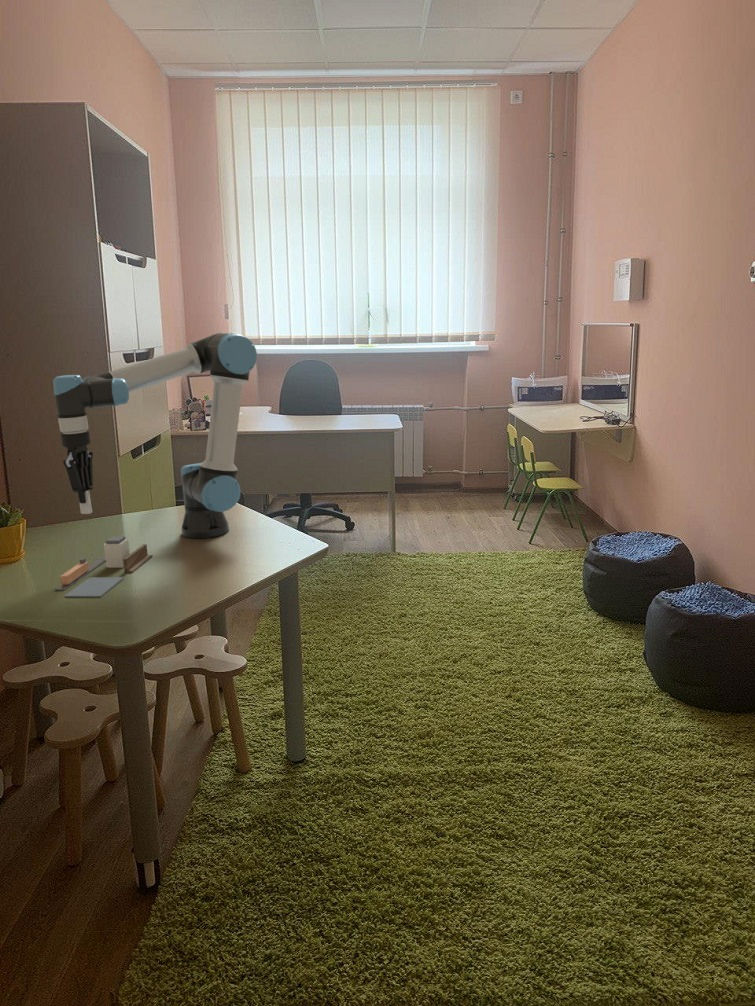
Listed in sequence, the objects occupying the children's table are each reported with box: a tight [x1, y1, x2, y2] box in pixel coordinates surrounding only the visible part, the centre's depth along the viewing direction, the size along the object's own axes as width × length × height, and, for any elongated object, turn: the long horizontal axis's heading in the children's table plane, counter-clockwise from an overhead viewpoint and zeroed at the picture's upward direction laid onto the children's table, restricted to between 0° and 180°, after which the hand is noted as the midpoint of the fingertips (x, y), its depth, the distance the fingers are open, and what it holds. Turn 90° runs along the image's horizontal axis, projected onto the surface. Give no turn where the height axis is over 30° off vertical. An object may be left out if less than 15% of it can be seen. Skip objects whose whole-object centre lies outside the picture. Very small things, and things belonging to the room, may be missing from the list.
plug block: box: [103, 536, 131, 569], centre depth 232 cm, size 5×5×8 cm
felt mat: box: [64, 576, 125, 598], centre depth 214 cm, size 10×14×1 cm
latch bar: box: [59, 557, 90, 585], centre depth 221 cm, size 2×12×4 cm, turn 173°
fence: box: [123, 543, 153, 574], centre depth 231 cm, size 2×14×4 cm, turn 173°
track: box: [54, 555, 106, 591], centre depth 227 cm, size 3×28×1 cm, turn 173°
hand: (86, 513), depth 228 cm, fingers closed
